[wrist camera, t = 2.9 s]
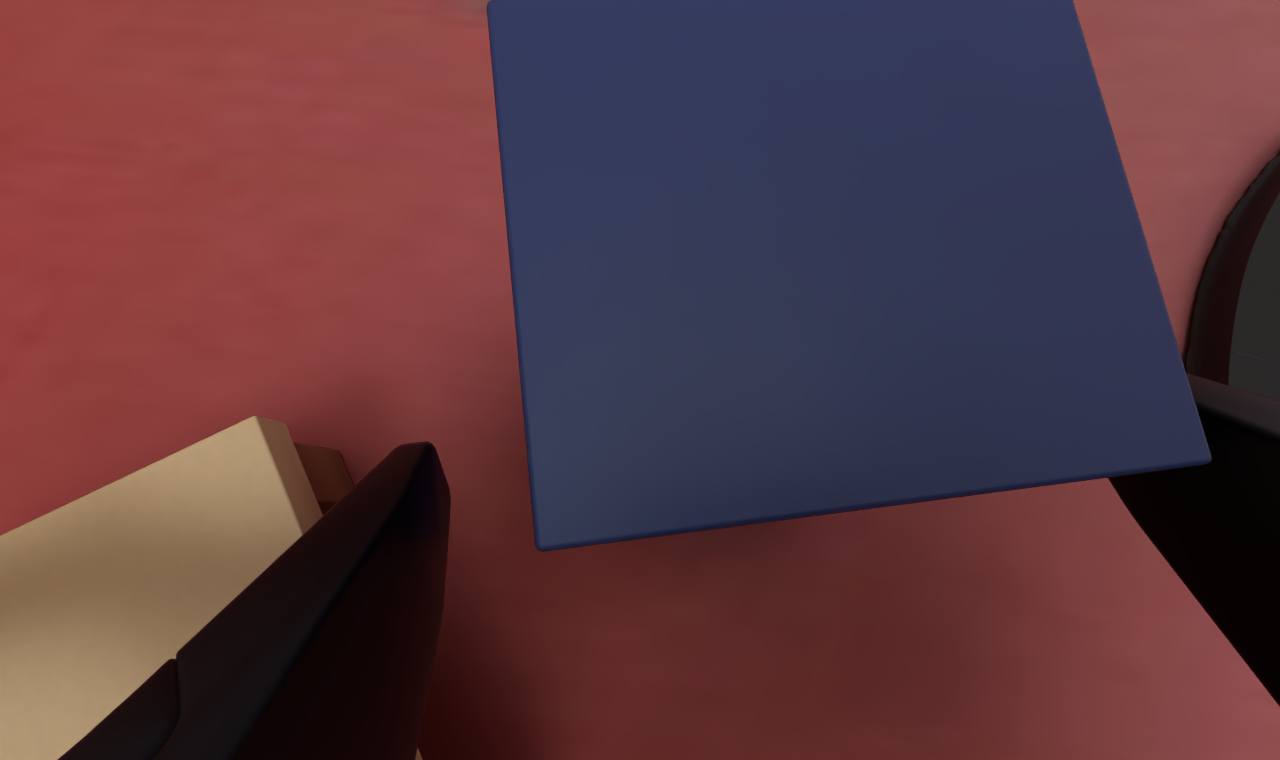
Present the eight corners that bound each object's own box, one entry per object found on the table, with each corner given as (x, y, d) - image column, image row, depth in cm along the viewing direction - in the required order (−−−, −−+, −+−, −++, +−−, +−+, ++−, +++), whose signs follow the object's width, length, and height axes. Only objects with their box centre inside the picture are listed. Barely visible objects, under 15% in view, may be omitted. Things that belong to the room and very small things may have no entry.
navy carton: (800, 492, 17) (1217, 463, 5) (603, 517, 17) (535, 554, 5) (770, 320, 18) (1058, -57, 6) (584, 342, 18) (485, -2, 6)
